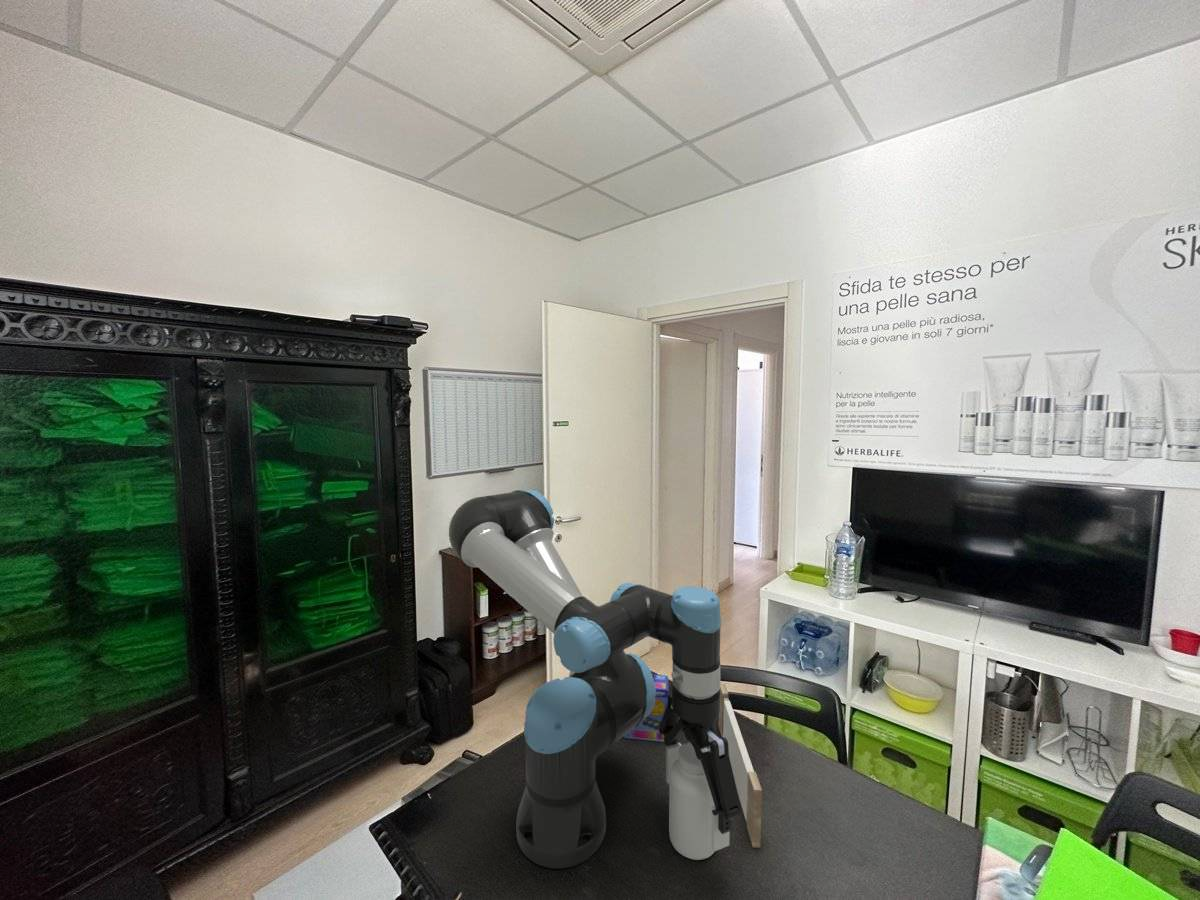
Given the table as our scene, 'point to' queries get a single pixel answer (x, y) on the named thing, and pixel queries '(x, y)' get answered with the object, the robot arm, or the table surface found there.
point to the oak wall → (753, 787)
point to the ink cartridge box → (653, 714)
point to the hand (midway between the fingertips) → (695, 811)
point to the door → (737, 754)
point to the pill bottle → (690, 806)
